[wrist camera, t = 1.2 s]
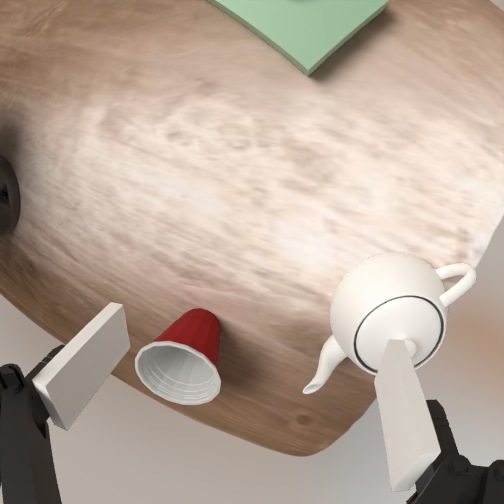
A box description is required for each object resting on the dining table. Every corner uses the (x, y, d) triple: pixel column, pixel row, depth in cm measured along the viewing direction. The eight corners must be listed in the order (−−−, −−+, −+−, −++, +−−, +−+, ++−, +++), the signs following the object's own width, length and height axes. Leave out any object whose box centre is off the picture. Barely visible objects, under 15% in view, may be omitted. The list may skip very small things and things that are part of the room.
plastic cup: (207, 364, 48) (184, 419, 37) (156, 320, 47) (120, 368, 36) (254, 330, 45) (239, 388, 34) (198, 278, 43) (165, 326, 32)
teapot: (425, 201, 35) (469, 228, 24) (471, 290, 37) (510, 335, 26) (272, 310, 43) (259, 367, 32) (333, 378, 46) (336, 438, 34)
